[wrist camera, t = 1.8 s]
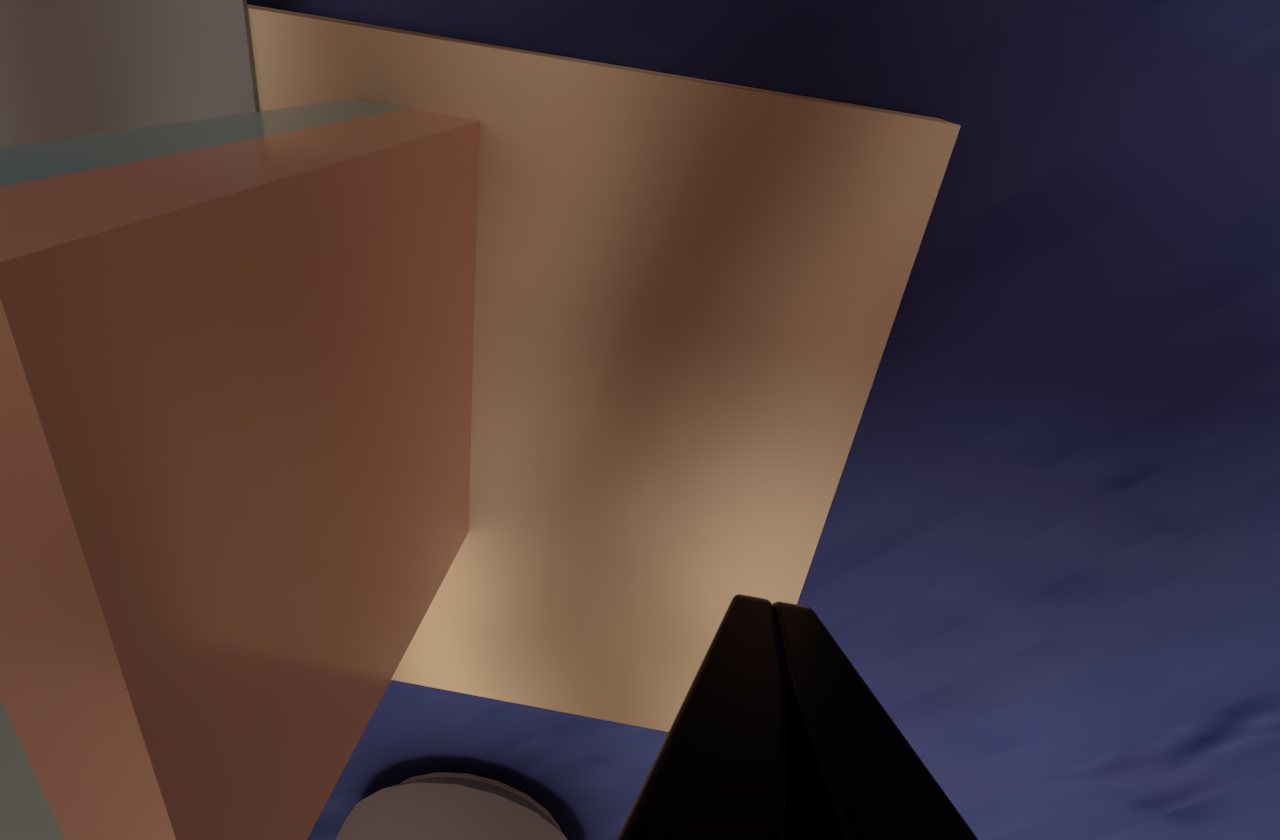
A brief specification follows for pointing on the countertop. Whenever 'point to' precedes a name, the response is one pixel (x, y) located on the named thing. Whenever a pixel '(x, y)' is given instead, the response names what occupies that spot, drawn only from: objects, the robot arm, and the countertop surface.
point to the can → (449, 812)
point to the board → (582, 315)
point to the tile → (224, 457)
